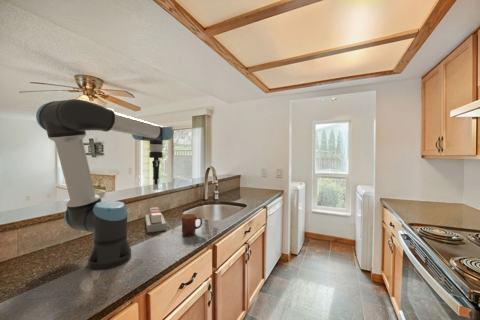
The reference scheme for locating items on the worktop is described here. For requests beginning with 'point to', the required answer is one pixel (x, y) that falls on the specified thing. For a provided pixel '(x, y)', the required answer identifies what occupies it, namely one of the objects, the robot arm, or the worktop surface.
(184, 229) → the mug
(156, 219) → the white key
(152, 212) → the red key
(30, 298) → the worktop surface
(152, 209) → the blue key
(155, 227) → the key panel
